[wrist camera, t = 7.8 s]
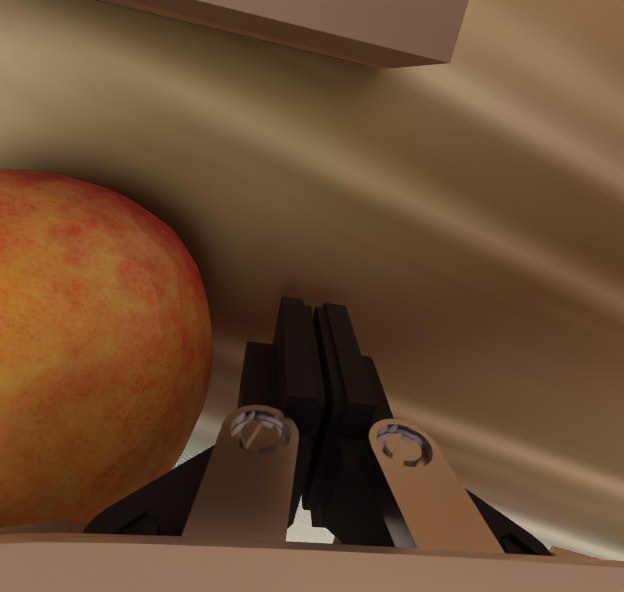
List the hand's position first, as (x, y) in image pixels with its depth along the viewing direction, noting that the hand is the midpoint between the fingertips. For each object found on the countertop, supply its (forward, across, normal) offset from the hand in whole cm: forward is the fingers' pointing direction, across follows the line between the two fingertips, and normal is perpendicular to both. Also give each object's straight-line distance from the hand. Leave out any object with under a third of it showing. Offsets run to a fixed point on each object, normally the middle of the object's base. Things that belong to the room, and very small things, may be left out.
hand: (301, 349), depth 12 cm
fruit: (+2, +6, 0) cm, 6 cm away
